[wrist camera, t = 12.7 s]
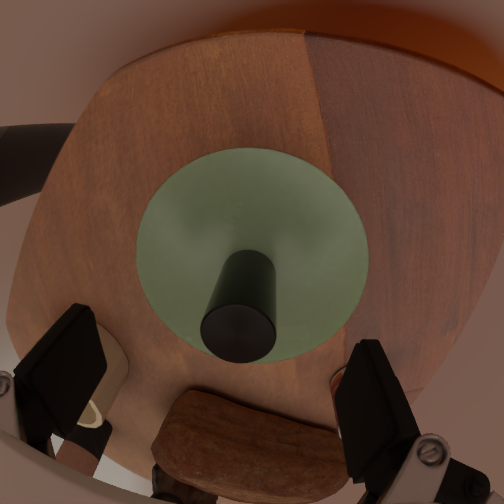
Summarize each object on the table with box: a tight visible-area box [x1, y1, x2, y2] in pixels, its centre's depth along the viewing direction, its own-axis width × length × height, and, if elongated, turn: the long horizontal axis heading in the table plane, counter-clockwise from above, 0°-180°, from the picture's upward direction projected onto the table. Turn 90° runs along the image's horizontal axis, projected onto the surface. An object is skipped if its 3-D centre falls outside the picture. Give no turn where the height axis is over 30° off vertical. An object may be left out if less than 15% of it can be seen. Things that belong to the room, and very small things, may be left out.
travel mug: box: [55, 419, 112, 477], centre depth 32 cm, size 8×8×20 cm
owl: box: [151, 463, 218, 504], centre depth 35 cm, size 13×13×20 cm
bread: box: [151, 390, 350, 504], centre depth 31 cm, size 14×28×12 cm, turn 62°
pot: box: [23, 323, 129, 428], centre depth 29 cm, size 13×18×10 cm
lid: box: [136, 147, 369, 363], centre depth 14 cm, size 14×14×7 cm
